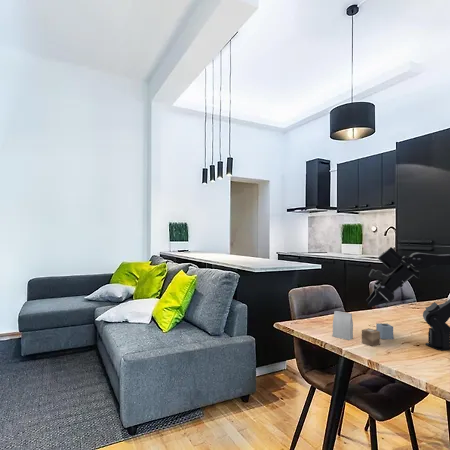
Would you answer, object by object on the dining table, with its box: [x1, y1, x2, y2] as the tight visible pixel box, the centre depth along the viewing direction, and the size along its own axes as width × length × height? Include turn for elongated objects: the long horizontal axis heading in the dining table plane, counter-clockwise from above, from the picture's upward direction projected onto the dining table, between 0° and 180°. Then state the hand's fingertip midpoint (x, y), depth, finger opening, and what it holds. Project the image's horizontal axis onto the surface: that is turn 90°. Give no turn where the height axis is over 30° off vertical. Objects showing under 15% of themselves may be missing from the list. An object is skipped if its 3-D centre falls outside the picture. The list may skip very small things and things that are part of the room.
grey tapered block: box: [332, 310, 354, 341], centre depth 130 cm, size 4×7×10 cm, turn 50°
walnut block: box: [361, 328, 381, 347], centre depth 123 cm, size 4×4×5 cm
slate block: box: [375, 323, 394, 340], centre depth 131 cm, size 4×4×5 cm
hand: (367, 304), depth 130 cm, fingers open, 9 cm apart
